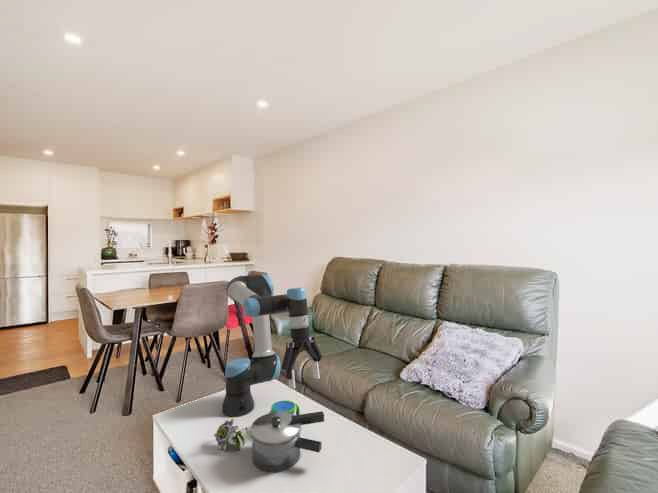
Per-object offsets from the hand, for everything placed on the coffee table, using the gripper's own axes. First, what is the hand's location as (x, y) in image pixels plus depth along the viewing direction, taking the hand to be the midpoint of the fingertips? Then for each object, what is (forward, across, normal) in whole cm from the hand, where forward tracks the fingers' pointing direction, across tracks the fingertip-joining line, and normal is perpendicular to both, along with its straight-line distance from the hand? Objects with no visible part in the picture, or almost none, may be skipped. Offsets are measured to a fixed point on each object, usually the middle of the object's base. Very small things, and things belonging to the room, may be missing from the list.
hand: (304, 383), depth 129 cm
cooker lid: (+16, -4, +7) cm, 18 cm away
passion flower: (+23, -14, +32) cm, 41 cm away
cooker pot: (+26, -5, +8) cm, 28 cm away
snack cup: (+23, +7, +23) cm, 33 cm away
